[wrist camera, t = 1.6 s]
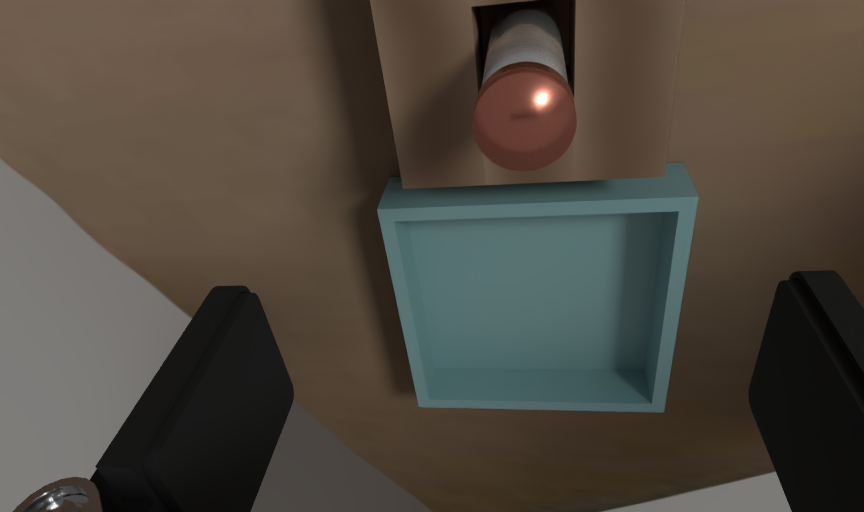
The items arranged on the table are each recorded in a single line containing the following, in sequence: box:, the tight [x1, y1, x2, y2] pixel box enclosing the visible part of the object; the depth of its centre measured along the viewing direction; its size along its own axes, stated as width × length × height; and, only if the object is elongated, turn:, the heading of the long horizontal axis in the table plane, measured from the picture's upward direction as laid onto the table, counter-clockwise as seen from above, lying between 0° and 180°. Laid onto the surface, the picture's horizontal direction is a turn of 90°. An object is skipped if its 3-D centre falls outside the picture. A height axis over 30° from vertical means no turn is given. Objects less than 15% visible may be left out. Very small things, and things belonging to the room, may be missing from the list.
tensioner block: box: [370, 0, 686, 189], centre depth 26 cm, size 12×12×5 cm
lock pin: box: [473, 0, 577, 171], centre depth 23 cm, size 3×3×11 cm
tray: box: [377, 163, 699, 413], centre depth 36 cm, size 16×16×4 cm
